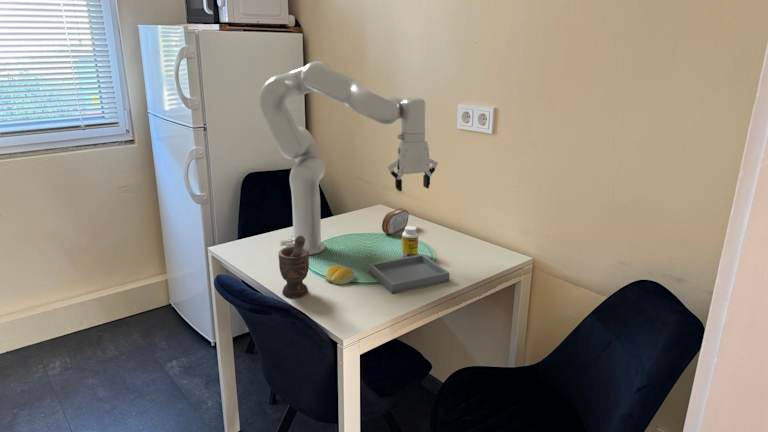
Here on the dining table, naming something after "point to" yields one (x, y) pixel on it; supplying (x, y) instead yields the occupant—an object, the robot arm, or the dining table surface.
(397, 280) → the tray
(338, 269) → the bread roll
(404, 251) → the supplement bottle
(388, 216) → the tin
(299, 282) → the mortar and pestle
